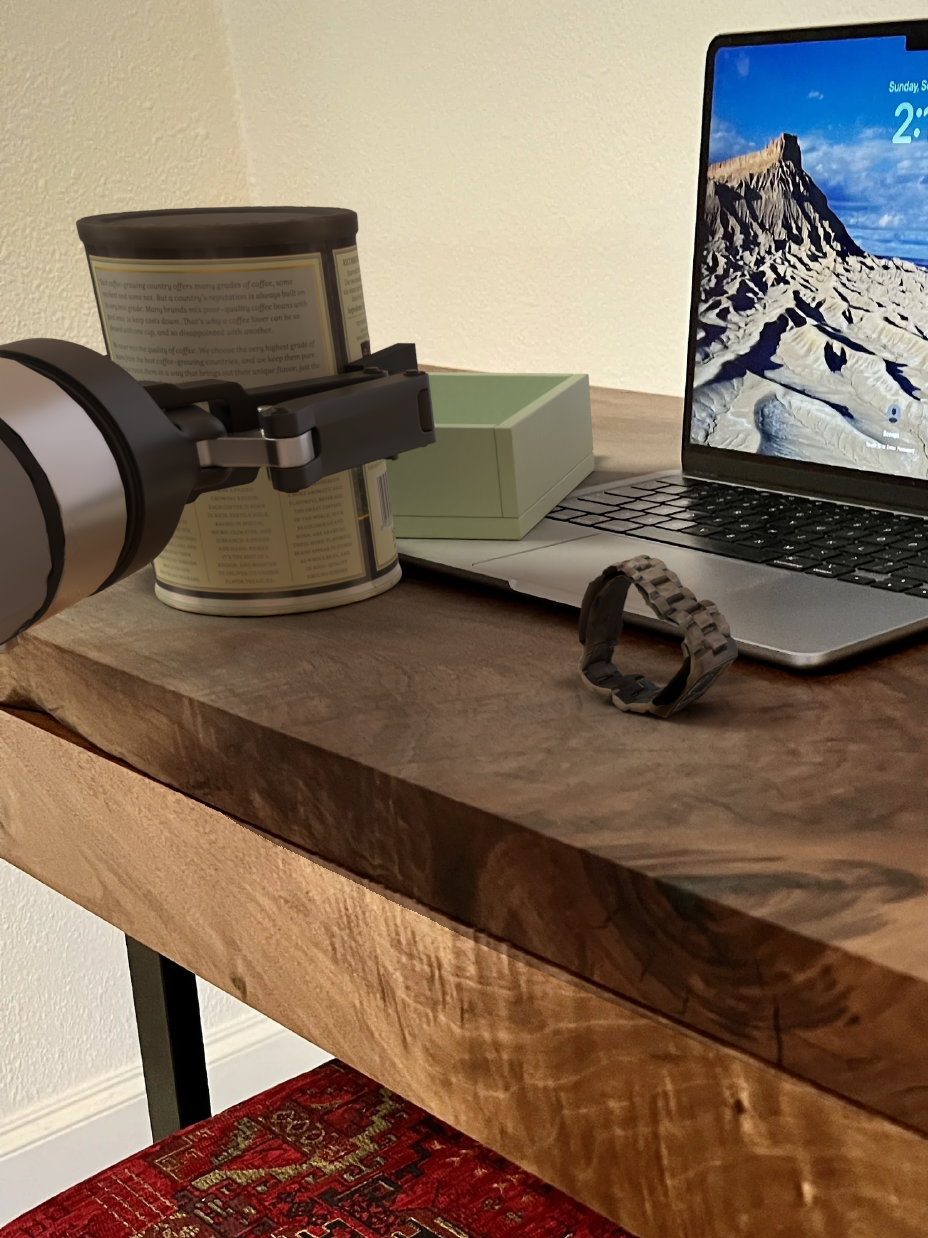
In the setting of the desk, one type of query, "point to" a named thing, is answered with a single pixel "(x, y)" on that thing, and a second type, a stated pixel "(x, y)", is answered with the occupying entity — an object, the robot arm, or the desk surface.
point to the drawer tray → (494, 455)
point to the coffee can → (253, 357)
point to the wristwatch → (671, 602)
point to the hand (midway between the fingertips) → (287, 376)
